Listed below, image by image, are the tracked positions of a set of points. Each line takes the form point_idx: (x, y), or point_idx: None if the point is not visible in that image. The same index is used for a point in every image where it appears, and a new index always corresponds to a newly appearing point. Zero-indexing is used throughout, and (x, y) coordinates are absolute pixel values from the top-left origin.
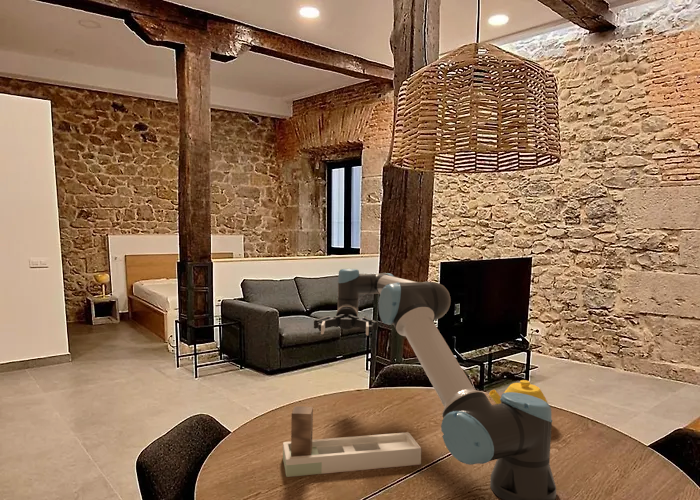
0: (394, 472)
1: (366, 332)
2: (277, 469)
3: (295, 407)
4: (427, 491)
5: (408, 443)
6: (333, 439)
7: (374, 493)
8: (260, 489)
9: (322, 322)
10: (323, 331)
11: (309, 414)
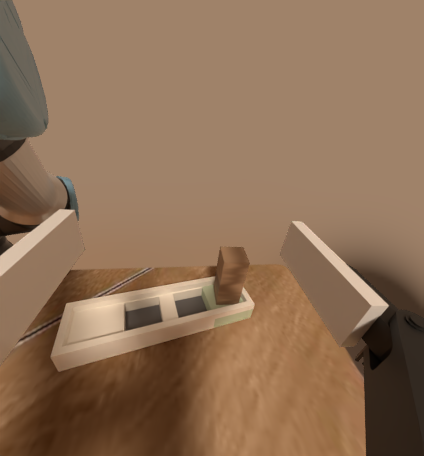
0: None
1: (79, 238)
2: None
3: (246, 259)
4: (97, 272)
5: (69, 336)
6: (191, 316)
7: (149, 268)
8: None
9: (345, 265)
10: (283, 245)
11: (221, 247)
